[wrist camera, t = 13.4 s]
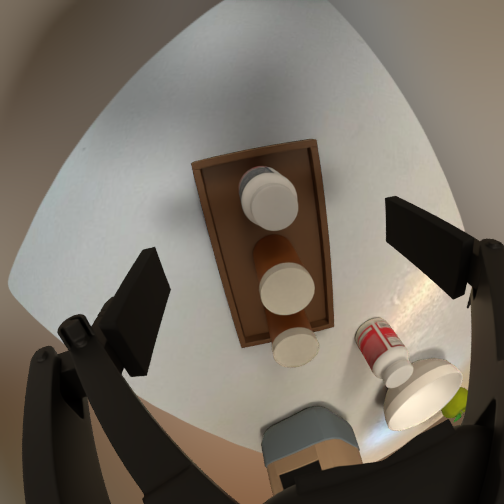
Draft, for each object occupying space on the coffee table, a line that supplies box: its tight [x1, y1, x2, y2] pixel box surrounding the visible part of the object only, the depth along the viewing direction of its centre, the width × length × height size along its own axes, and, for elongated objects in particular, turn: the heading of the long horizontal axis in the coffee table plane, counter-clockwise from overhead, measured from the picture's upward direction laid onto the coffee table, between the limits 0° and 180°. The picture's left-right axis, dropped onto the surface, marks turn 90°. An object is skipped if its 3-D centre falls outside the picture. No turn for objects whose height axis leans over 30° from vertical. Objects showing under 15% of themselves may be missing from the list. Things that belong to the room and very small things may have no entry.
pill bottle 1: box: [239, 166, 298, 231], centre depth 27 cm, size 5×5×9 cm
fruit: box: [441, 387, 468, 422], centre depth 53 cm, size 9×9×10 cm
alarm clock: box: [261, 406, 363, 496], centre depth 42 cm, size 17×17×23 cm
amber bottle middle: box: [253, 234, 315, 315], centre depth 30 cm, size 5×5×9 cm
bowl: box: [384, 358, 463, 431], centre depth 46 cm, size 19×19×9 cm
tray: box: [191, 139, 334, 348], centre depth 34 cm, size 26×14×2 cm, turn 11°
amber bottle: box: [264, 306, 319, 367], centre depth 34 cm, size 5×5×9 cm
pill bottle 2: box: [355, 318, 413, 388], centre depth 37 cm, size 6×6×11 cm
